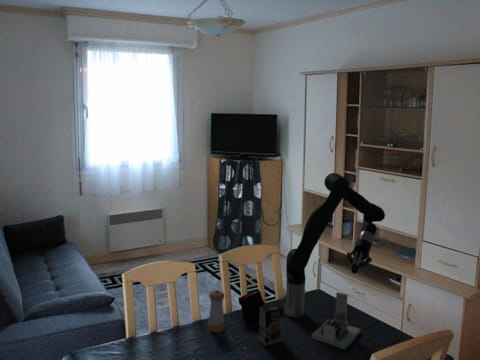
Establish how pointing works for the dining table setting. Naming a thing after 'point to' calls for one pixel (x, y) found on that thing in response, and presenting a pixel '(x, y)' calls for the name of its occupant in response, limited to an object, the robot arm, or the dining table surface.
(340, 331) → the heat sink
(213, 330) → the pepper shaker
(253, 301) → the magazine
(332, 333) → the grey square stand
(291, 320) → the dining table surface
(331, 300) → the dining table surface
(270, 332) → the coffee box
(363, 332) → the dining table surface
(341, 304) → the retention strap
